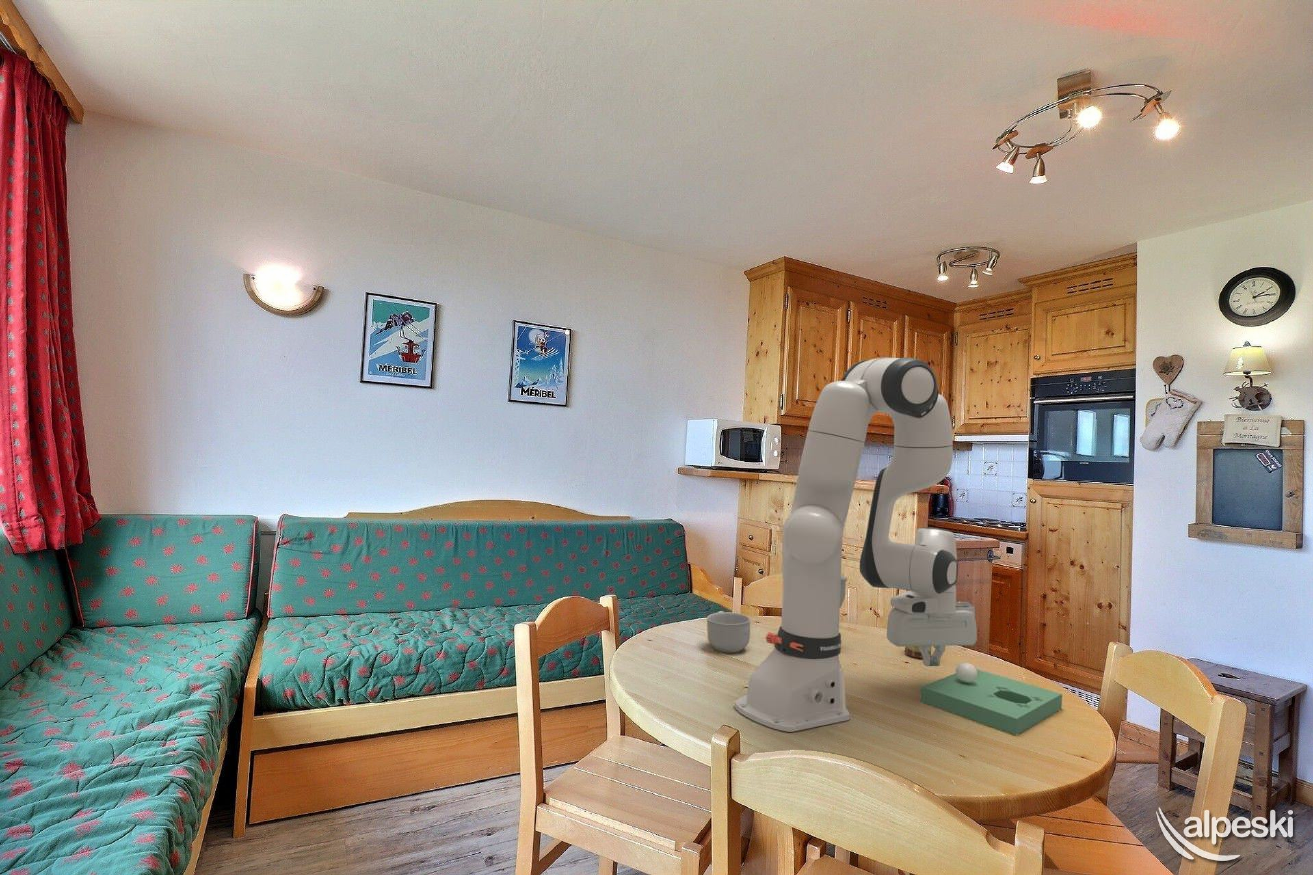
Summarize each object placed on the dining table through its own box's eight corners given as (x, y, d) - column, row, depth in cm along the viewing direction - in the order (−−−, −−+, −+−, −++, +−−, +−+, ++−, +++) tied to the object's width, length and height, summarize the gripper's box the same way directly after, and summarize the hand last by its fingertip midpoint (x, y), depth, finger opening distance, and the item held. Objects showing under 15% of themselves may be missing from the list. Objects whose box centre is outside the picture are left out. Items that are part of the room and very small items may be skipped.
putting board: (1016, 735, 111) (1016, 718, 111) (920, 701, 125) (920, 686, 125) (1061, 708, 124) (1062, 693, 125) (970, 680, 139) (970, 667, 139)
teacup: (752, 657, 148) (753, 623, 148) (706, 654, 148) (708, 621, 148) (744, 640, 162) (745, 609, 162) (703, 637, 162) (704, 607, 162)
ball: (971, 687, 126) (972, 667, 126) (951, 681, 129) (952, 661, 129) (980, 683, 128) (981, 664, 128) (961, 677, 131) (961, 658, 132)
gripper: (964, 598, 140) (962, 659, 140) (883, 598, 136) (881, 661, 136) (984, 604, 134) (982, 669, 134) (901, 605, 130) (898, 671, 129)
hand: (931, 665), depth 135 cm, fingers closed
